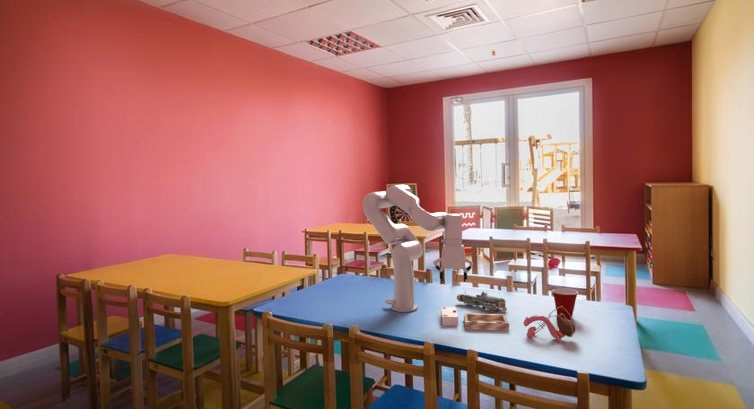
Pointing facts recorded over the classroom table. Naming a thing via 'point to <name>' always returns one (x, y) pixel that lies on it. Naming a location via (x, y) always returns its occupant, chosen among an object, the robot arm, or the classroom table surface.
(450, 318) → the pale pink knobbed block
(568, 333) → the anatomy model
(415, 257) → the robot arm
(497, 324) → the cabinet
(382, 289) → the classroom table surface
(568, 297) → the plastic cup
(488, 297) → the hoverbike
